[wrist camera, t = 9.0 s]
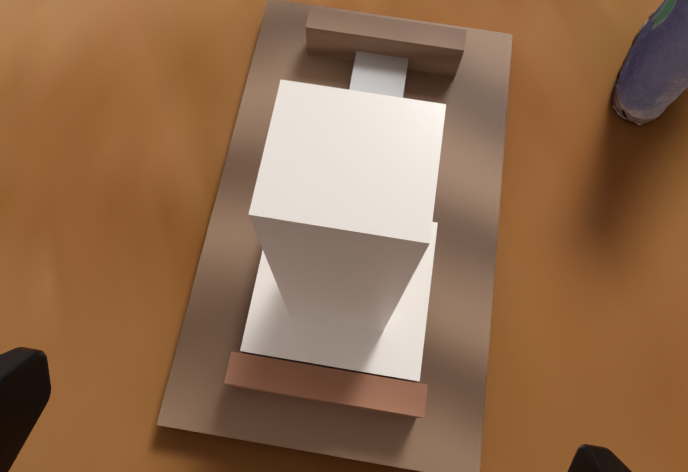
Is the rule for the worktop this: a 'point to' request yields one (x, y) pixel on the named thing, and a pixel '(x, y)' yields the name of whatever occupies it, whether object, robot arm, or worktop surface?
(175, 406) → the rail board
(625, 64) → the flask
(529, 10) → the worktop surface
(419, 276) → the slider
